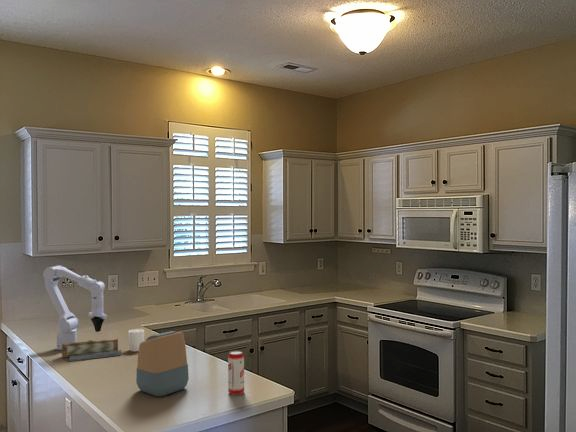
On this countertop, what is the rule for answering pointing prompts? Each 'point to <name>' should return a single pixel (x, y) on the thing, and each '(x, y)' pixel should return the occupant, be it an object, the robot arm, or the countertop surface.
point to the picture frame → (89, 347)
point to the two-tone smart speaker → (162, 364)
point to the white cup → (135, 339)
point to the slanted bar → (95, 355)
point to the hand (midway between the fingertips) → (98, 331)
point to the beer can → (236, 373)
